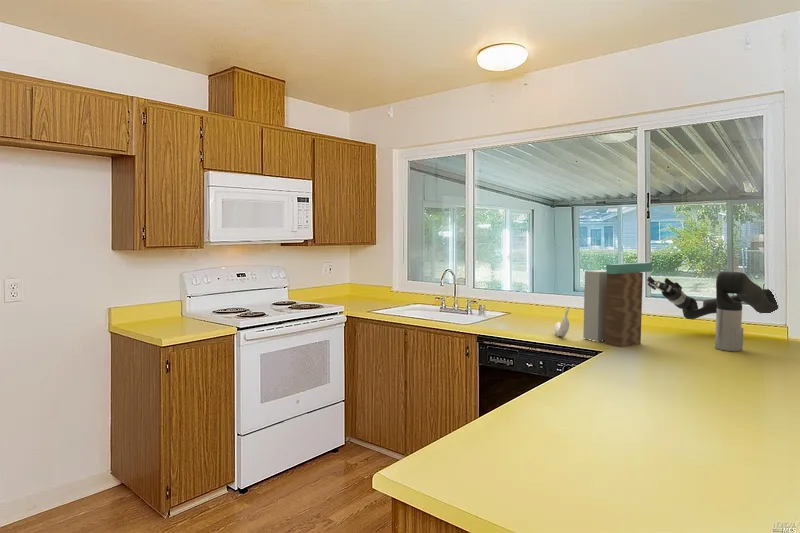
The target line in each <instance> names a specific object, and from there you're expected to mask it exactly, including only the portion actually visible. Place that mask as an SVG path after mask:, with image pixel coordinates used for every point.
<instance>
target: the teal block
mask: <svg viewBox="0 0 800 533" xmlns="http://www.w3.org/2000/svg"><path fill="white" fill-rule="evenodd" d="M605 270H606V273H607V274H622V273H637V272H640V273H648V272H649V273H650V272H652V262H625V263H624V262H623V263H607V264H606V269H605Z"/></svg>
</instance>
